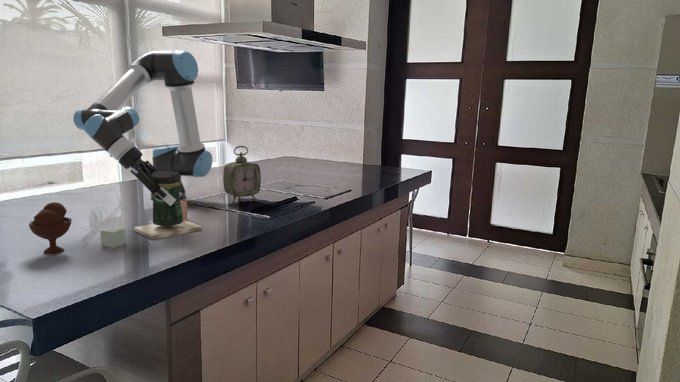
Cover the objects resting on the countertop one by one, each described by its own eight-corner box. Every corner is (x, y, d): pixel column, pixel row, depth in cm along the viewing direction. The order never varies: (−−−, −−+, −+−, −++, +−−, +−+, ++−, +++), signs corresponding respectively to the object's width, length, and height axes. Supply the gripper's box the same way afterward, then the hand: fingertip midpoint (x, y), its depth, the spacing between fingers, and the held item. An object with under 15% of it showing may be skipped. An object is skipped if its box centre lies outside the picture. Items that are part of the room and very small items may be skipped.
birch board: (182, 221, 183) (182, 218, 182) (201, 229, 173) (201, 226, 173) (134, 230, 170) (134, 227, 170) (151, 239, 160) (151, 236, 160)
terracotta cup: (176, 216, 190) (175, 199, 189) (187, 219, 186) (186, 201, 185) (160, 220, 185) (159, 202, 183) (171, 223, 181) (171, 204, 179)
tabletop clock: (232, 206, 208) (230, 147, 203) (221, 202, 215) (220, 145, 210) (261, 201, 218) (260, 145, 213) (250, 198, 225) (249, 143, 220)
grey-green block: (114, 241, 158) (113, 226, 157) (126, 243, 156) (125, 228, 155) (101, 245, 154) (100, 230, 153) (112, 248, 152) (111, 232, 151)
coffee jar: (186, 221, 174) (183, 170, 170) (175, 227, 167) (172, 174, 163) (161, 219, 176) (158, 168, 172) (149, 225, 168) (145, 172, 164)
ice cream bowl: (43, 246, 151) (38, 199, 148) (80, 246, 152) (76, 199, 149) (24, 257, 141) (18, 207, 138) (64, 257, 142) (60, 207, 139)
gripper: (128, 157, 176) (176, 200, 180) (106, 166, 155) (160, 215, 160) (143, 142, 175) (190, 186, 180) (122, 149, 155) (176, 199, 159)
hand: (176, 200), depth 170 cm, fingers open, 8 cm apart
